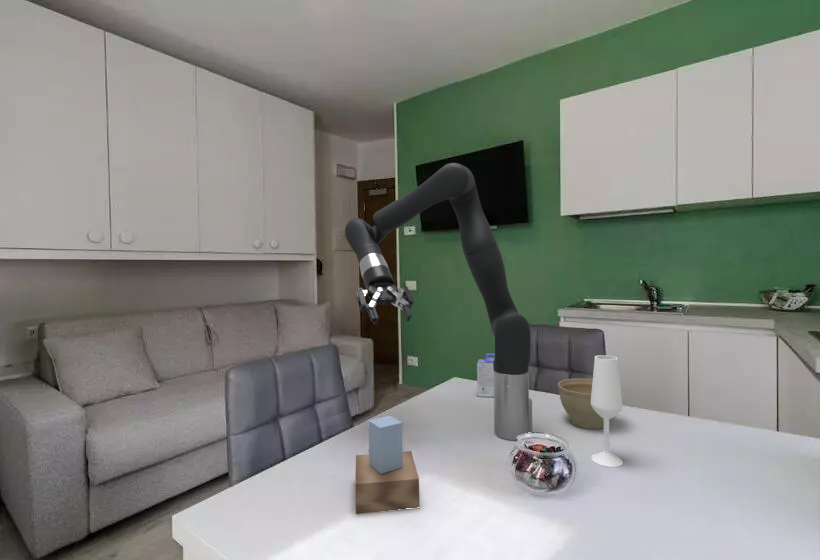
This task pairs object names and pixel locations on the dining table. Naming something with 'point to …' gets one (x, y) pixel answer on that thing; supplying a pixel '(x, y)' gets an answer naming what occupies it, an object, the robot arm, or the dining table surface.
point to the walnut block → (386, 486)
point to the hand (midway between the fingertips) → (392, 320)
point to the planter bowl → (579, 403)
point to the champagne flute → (606, 402)
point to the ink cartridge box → (485, 376)
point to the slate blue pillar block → (385, 444)
